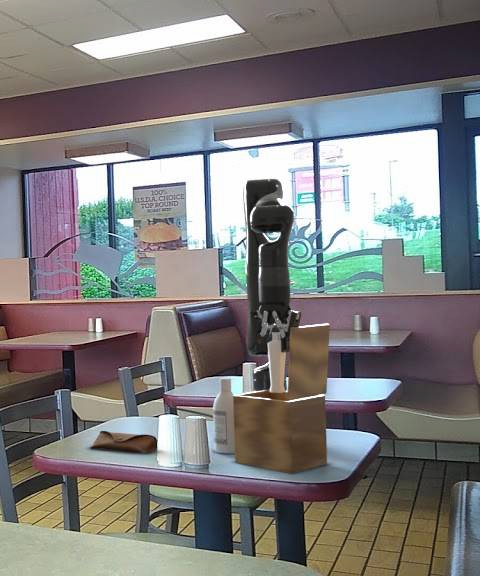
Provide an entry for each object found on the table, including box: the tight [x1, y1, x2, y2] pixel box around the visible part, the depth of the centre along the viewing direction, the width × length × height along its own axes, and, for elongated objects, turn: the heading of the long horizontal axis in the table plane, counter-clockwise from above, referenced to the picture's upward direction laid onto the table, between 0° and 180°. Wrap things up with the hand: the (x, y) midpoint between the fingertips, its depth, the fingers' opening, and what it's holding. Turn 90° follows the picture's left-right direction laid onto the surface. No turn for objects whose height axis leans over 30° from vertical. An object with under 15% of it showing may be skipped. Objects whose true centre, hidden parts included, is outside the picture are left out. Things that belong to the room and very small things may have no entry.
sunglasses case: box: [89, 430, 158, 453], centre depth 233 cm, size 18×7×7 cm
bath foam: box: [212, 377, 235, 455], centre depth 224 cm, size 7×7×20 cm
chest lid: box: [287, 323, 331, 400], centre depth 201 cm, size 18×15×1 cm
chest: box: [233, 389, 328, 474], centre depth 209 cm, size 17×15×17 cm
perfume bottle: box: [267, 332, 287, 393], centre depth 208 cm, size 5×4×15 cm
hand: (276, 351), depth 208 cm, fingers closed on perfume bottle, 4 cm apart
